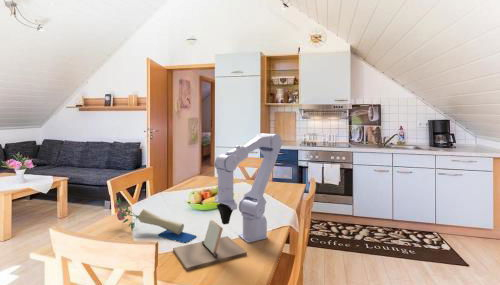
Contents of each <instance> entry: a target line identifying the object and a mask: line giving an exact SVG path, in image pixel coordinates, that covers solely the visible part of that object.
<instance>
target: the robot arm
mask: <svg viewBox="0 0 500 285" xmlns="http://www.w3.org/2000/svg"><path fill="white" fill-rule="evenodd" d="M282 146H283V142H282V137H281V135H280V134H278V133H262V132H260V133H258V134H255V136H254V137H253V139H251V140H249V141H248V142H247V143H246V144H244V145H240V144H239V145H238V144H236V145H235V146H234V148H232V149H231V150H227V151H226V153H224V154H222V153H221V154H219V155H217V157H216V158H215V161H214V162H213V165H214V167H215V169H216V174H217V194H215V196H214V197H215V198H214V203H217V204H216V208H217V210H218V212H219V215H220V219H221V223H222V224H223V225H228V224H230V220H231V216H232V213H233V211H235V210H239V212H240V213H241V216H242V233H240V234H238V237H239V238H241V239H242V240H243V241H245V242H246V243H253V242H256V241H261V240H264V239H268V236H267V233H268V232H267V230H268V226H267V225H268V222H267V218H266V216H265V214H264V213H265V211H266V206H267V205H266V204H267V200H266V199H265V197H264V194H265V191H266V188H267V185H268V183H269V180H270V178H271V175H272V173H273V169H274V167H275V164H276V162H277V159H278V156H279V154H280V150H281V148H282ZM256 150H259V151H260V153H261V155H263V158H262V162H261V163H260V166H259V168H258V171H257V173H256V176H255V179H254V182H253V183H252V186H251V188H250V191H248V192H246V193H244V194H243V197H242V198H241V199H240V201H239V204H237V203H236V201H235V199H234V171H235V170H236V168H237V166H238V165H239V164H241V162H243V161H245V160H246V159H247V158H248V157H249V154H250V153H251V152H254V151H256Z"/></svg>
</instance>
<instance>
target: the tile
mask: <svg viewBox="0 0 500 285" xmlns="http://www.w3.org/2000/svg"><path fill="white" fill-rule="evenodd" d="M223 229H224V228H223V227H222V226H220V225H219V224H218V223H217V222H215V221H214V220H212V219H211V220H209V223H208V227H207V230H206V233H205V237H204V240H203V241H204V244H205V246H206V247H207V248H208V249H209V250H210V251H211V252H212V253H215V252H216V251H217V248H218V244H219V241H220V238H221V237H222V234H223V233H222V232H223Z"/></svg>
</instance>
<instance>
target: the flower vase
mask: <svg viewBox="0 0 500 285" xmlns="http://www.w3.org/2000/svg"><path fill="white" fill-rule="evenodd" d="M120 204H121V205H122V206H121V205H120ZM114 209H119V210H118V212H117V213H116V218H117V219H118V220H119V221H123V222H122V224H125V223H126V222H128V221H129V218H126V217H127V216H131V217H135V220H134V221H133V222H132V221H131V222H130V223H129V224H128V227H130V228H131V230H133V228H134V226H135V223H136V222H137V221H138V220H139V222H140V223H141V224H142V223H143V224H148V225H153V226H157V227H160V228H163V229H165V231H166V230H168V231H170V232H173V233H175V234H177V235H179V234H180V233H182V232H183V231H184V228H185V224H184V223H181V222H177V221H174V220H170V219H166V218H163V217H161V216H158V215H156V214H154V213H153V212H151V211H149V210H147V209H145V208H143V209H142V210H141V211H140V212H139V215H136V213H134V212H132V211H131V210H129V205H128V204H126V206H125V205H124V204H123V202H122V200H121V198H120V197H118V199H117V200H115V203H114Z"/></svg>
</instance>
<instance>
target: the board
mask: <svg viewBox="0 0 500 285" xmlns="http://www.w3.org/2000/svg"><path fill="white" fill-rule="evenodd" d="M172 252H173V253H174V254H175V256H176V258H177V259H178V261H179V262H180V264H182V267H183V268H184V269H185V271H186V272H189V271H191V270H197V269H199V268H203V267H206V266H210V265H214V264H217V263H221V262H225V261H228V260H229V261H230V260H233V259H236V258H240V257H244V256H247V255H248V254H247V253H248V252H247V251H246V250H245V249H243V248H242V246H240V245H239V244H238V243H236V242H235V241H234V240H232V239H231V237H229V236H227V235H226V236H221V237H220V241H219V244H218V248H217V251H216V252H215V253H212V252H211V251H210V250H209V249H208V248H207V247H206V246H205V244H204V240H202V241H200V242H199V241H198V242H195V243H190V244H186V245H182V246H181V245H180V246H177V247H172Z"/></svg>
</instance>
